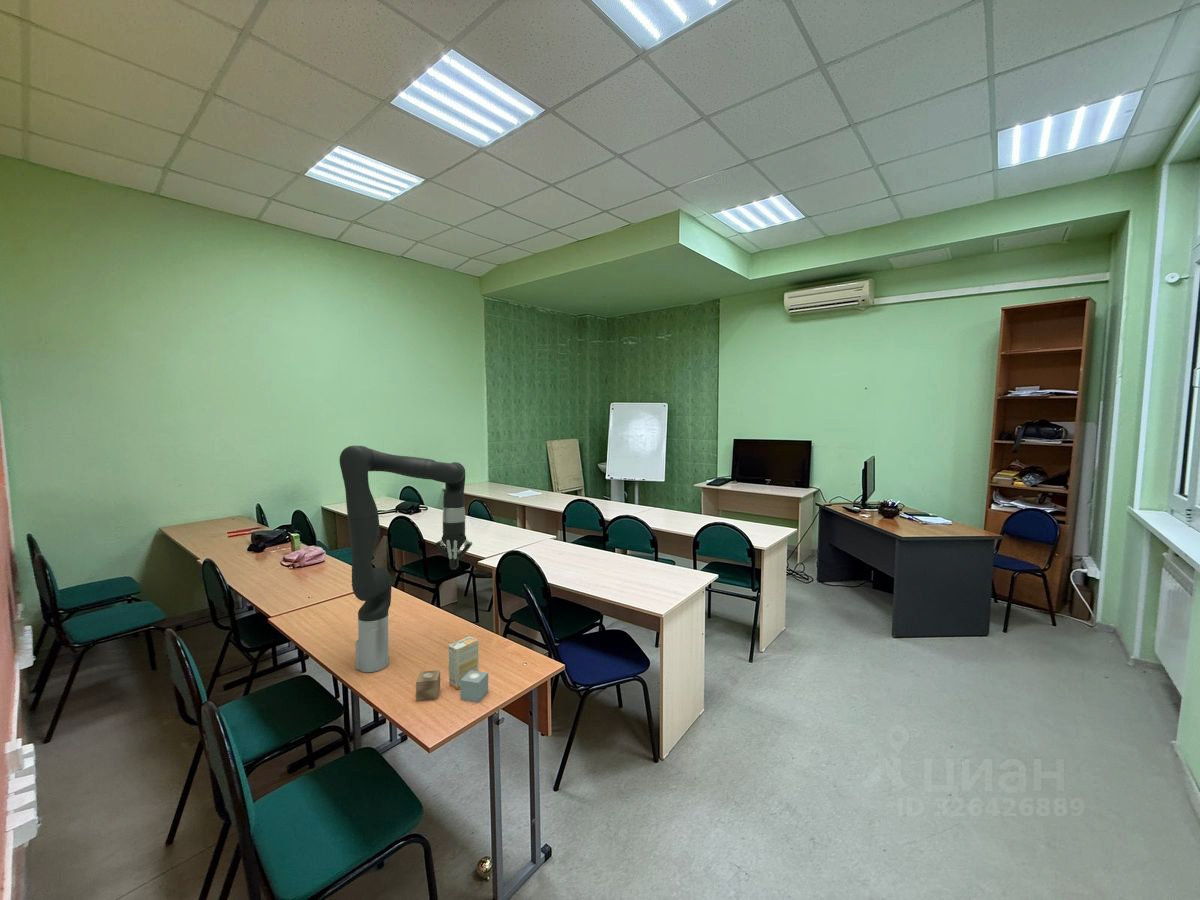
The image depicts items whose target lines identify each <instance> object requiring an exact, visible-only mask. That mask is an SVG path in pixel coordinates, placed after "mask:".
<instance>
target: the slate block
mask: <svg viewBox="0 0 1200 900" xmlns="http://www.w3.org/2000/svg"><path fill="white" fill-rule="evenodd" d="M459 689H460V690H459V693H460V694H459V696H460V697H459V699H460V700H462V701H466V702H467V701H468V702H475V703H479V702H481V700H482V699H483V698H484V697H485V696H486V694H487V693H488V692H489V672H485V671H479V670H478V671H473V670H470V671H469V672H468V673H467V674H466V675H465V676H464V677H463V678H462V679H461V680H460V688H459Z"/></svg>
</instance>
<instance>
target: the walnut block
mask: <svg viewBox="0 0 1200 900" xmlns="http://www.w3.org/2000/svg"><path fill="white" fill-rule="evenodd" d="M440 691H441V670H440V669H437V670H425V671H419V672H418V676H417V678H416V681H415V702H424V701H435V700H438V699H439V694H440Z"/></svg>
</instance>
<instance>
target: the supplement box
mask: <svg viewBox="0 0 1200 900" xmlns="http://www.w3.org/2000/svg"><path fill="white" fill-rule="evenodd" d="M447 647H448V684H449V686H451V687H453V688H454V689H456V690H459V689H460V680H461V679H462V678H463V677H464V676H465V675H466V674H467V673H468V672H469V671H470V670H473V671H479V640H478V639H476V638H475V637H472V636H470V635H469V636H467V637H465V638H462V639H460V640H457V641H455V642H453V643H450V644H448V646H447Z"/></svg>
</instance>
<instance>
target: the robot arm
mask: <svg viewBox="0 0 1200 900" xmlns="http://www.w3.org/2000/svg"><path fill="white" fill-rule="evenodd" d="M339 466H340V467H339V468H340V471H341V475H342V476H341V477H342V479H343V484H344V488H345V489H344V491H345V503H346V513H347V527H348V533H349V538H350V539H349V540H350V553H351V586H352V587H351V588H352V592H353V594H354V596H355V597H356V598H357V600H359V601H362V602H364V603H363V604H362V605H361V607H360V608H359V609H358V611H357V619H358V620H357V624H358V625H357V626H358V630H357V632H358V633H357V634H358V637H357V638H358V639H357V640H356V641H355V670H359V671H360V672H362V673H374V672H378V671H381V670H383V669H385V668H387V666H388V665H389V664H390V663H389V661H390V660H389V659H390V657H389V656H390V655H389V654H390V653H389V651H390V650H389V649H390V648H389V632H390V631H389V610H390V607H391V603H392V577H391V574H390V572H389V571H388V569H386V568H385V567H384V566H383V567H382V566H376V567H373V554H374V550H375V547H376V544H377V542H378V539H379V535H380V528H381V526H380V518H379V511H378V507H377V504H376V501H375V499H374V497H373V494H372V491H371V489H370V484H369V472H385V473H392V474H397V475H401V476H404V477H409V478H414V479H421V480H429V481H430V480H432V481H435V482H439V483H445V484H444V485H445V486H444V487H445V488H444V492H443V500H442V502H443V507H442V536H441V539H440V540H439V541H436V543H435V546H436V547H437V549H438V551H439V552H440V553H441V555H443V557H444V558H448V561H449V562H448V563H449V564H448V565H449V569H450V570H456V569H458V567H459V566H460V565H459V561H460V560H459V559H460V558H462V557H464V555H466V553H467V552H468V550H469V549H470V548H471V547H472V546H473V542H472V541H469V540H468V539H467V536H466V519H467V518H466V511H465V485H466V468H465V467H464V465H462V464H461V463H460V462H457V461H453V462H442V461H436V460H434V459H430V458H424V457H423V458H422V457H416V456H408V455H407V456H406V455H397V454H392V453H386V452H381V451H378V450H375V449H372V448H369V447H367V446H365V445H350V446H346V447H345V448H344V449H343V450H342V451H341V452H340V454H339ZM462 546H463V547H464V548H463V549H461V548H462Z"/></svg>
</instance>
